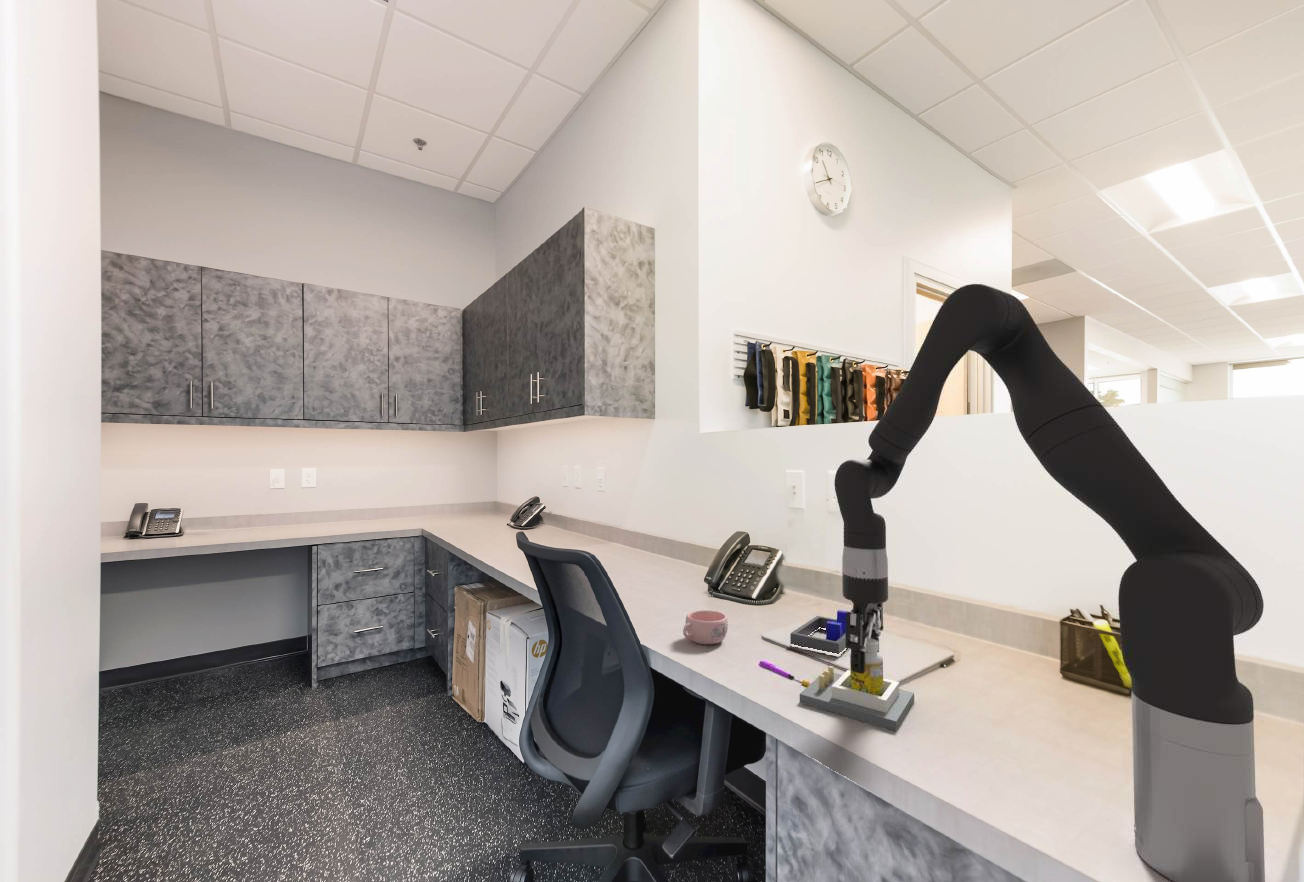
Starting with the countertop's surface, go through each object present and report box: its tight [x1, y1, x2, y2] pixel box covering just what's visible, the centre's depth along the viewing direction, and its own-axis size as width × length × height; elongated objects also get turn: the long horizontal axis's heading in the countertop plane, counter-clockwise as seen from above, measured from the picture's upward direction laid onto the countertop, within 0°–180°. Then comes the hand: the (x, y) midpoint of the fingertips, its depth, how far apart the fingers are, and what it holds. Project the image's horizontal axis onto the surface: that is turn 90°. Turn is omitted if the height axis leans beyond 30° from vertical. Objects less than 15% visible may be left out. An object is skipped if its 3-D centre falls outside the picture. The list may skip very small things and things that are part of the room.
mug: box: [682, 609, 729, 645], centre depth 126 cm, size 12×10×6 cm
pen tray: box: [789, 615, 857, 654], centre depth 126 cm, size 11×17×3 cm, turn 143°
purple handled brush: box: [758, 660, 812, 688], centre depth 106 cm, size 3×1×16 cm
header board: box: [799, 665, 915, 731], centre depth 95 cm, size 16×13×4 cm
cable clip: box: [825, 609, 850, 641], centre depth 126 cm, size 12×4×6 cm, turn 148°
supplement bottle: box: [849, 637, 884, 696], centre depth 94 cm, size 5×5×10 cm
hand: (865, 664), depth 94 cm, fingers open, 8 cm apart
